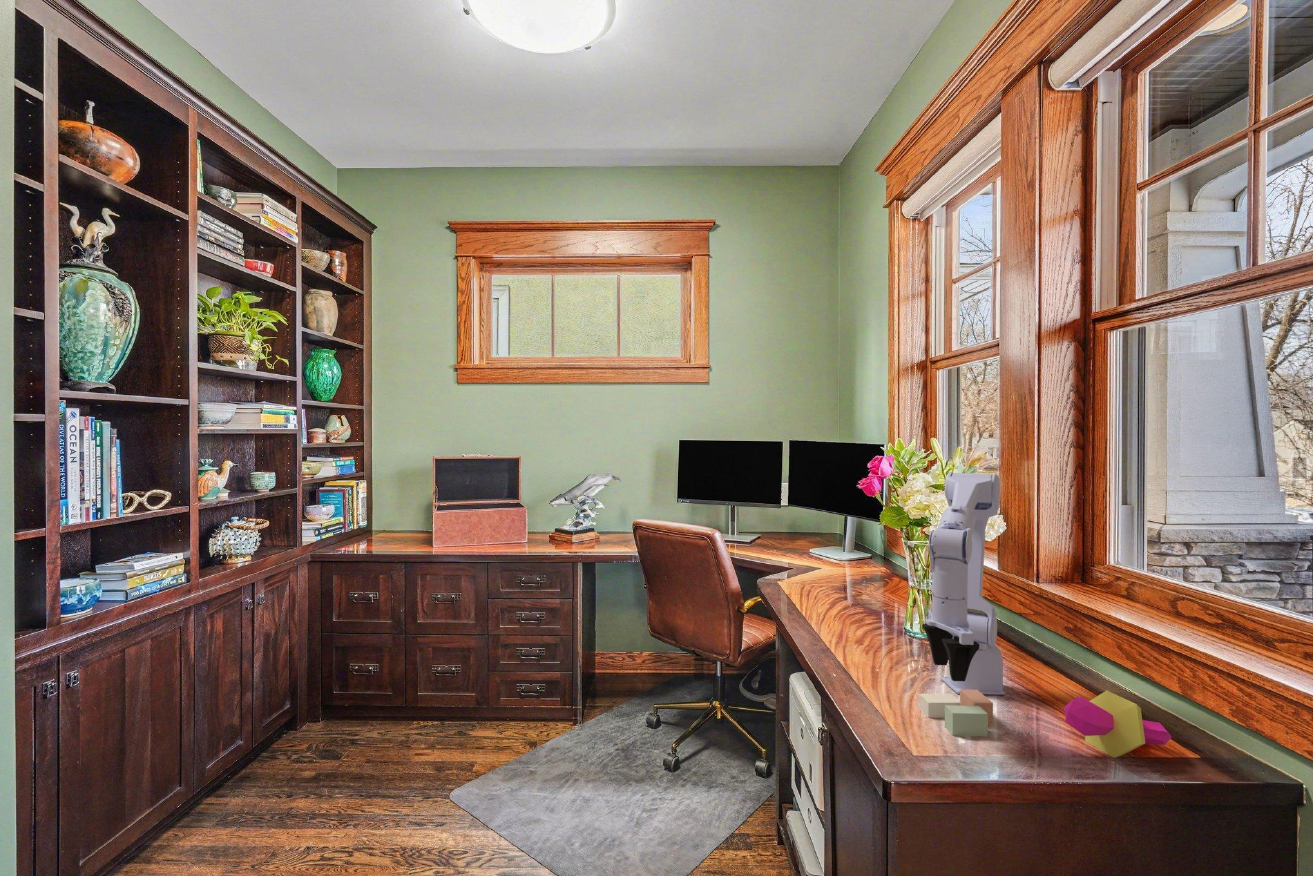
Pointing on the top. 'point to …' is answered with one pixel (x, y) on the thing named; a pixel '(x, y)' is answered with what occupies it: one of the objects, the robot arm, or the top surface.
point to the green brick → (966, 720)
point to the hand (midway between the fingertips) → (949, 672)
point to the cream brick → (936, 704)
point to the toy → (1113, 724)
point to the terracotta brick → (977, 702)
